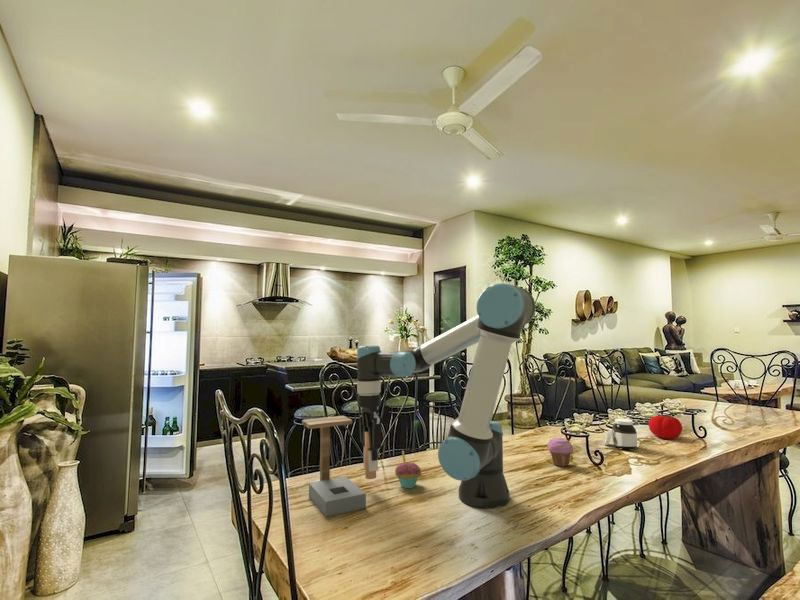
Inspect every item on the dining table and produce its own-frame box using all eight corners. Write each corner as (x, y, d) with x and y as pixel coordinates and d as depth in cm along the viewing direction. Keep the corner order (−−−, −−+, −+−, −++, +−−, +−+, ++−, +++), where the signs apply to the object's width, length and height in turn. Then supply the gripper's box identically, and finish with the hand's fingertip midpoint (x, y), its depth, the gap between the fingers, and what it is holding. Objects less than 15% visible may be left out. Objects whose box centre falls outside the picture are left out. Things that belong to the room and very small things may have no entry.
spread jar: (640, 451, 173) (639, 422, 174) (613, 451, 173) (612, 422, 174) (625, 443, 185) (624, 416, 186) (599, 443, 185) (598, 416, 186)
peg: (378, 477, 131) (377, 432, 132) (368, 479, 130) (367, 433, 131) (373, 474, 134) (372, 430, 135) (363, 476, 133) (362, 431, 134)
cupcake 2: (565, 470, 150) (565, 442, 151) (543, 464, 156) (543, 437, 157) (577, 465, 156) (576, 437, 156) (555, 459, 162) (555, 433, 163)
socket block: (365, 507, 119) (365, 493, 120) (325, 516, 114) (325, 501, 114) (345, 489, 134) (345, 476, 134) (308, 496, 128) (309, 483, 128)
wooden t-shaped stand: (352, 491, 131) (352, 420, 133) (308, 500, 125) (309, 425, 126) (343, 483, 138) (343, 415, 140) (301, 491, 132) (302, 420, 133)
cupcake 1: (402, 492, 131) (402, 453, 131) (390, 483, 138) (390, 446, 139) (426, 487, 135) (425, 449, 135) (413, 479, 142) (412, 443, 143)
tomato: (656, 440, 189) (655, 416, 190) (645, 433, 201) (644, 411, 202) (688, 441, 187) (687, 417, 187) (675, 434, 199) (674, 412, 200)
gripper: (391, 395, 129) (393, 474, 127) (369, 390, 143) (370, 460, 141) (369, 398, 125) (370, 478, 123) (348, 392, 139) (350, 464, 138)
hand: (370, 468), depth 132 cm, fingers closed on peg, 3 cm apart
